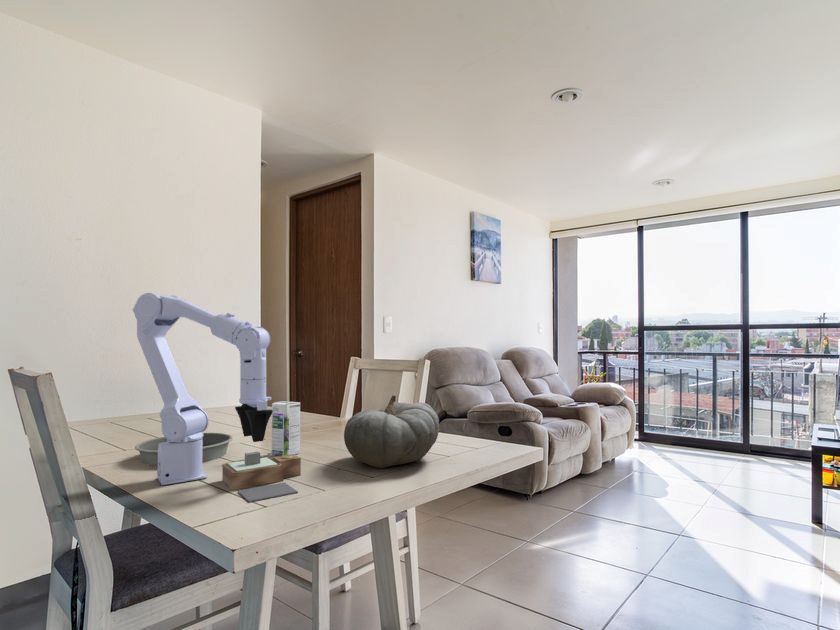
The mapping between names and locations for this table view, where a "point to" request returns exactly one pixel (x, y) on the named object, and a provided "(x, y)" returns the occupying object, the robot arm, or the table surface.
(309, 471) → the table surface
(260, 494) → the mat
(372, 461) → the gourd
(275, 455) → the gray rectangular bar
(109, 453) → the table surface
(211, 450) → the cake pan
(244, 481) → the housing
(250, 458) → the cover
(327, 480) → the table surface
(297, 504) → the table surface
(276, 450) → the syrup box
